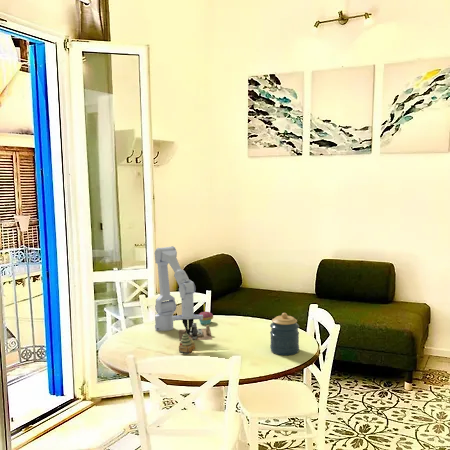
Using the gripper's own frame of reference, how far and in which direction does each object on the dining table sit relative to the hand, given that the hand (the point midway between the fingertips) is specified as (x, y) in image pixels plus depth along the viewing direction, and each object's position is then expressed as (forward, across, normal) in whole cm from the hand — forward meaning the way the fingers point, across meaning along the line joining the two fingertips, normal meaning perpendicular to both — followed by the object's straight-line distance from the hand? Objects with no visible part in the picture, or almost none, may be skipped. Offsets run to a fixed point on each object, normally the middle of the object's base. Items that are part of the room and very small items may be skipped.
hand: (188, 334), depth 235 cm
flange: (+2, +3, +5) cm, 6 cm away
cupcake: (+4, +10, +26) cm, 28 cm away
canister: (+4, +43, -20) cm, 48 cm away
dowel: (+3, +10, +5) cm, 12 cm away
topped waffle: (+4, -1, -14) cm, 15 cm away
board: (+3, +4, +7) cm, 9 cm away
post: (+3, +3, +7) cm, 8 cm away
